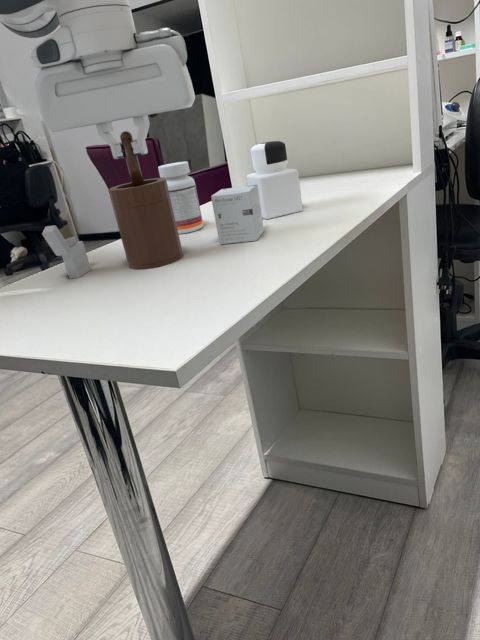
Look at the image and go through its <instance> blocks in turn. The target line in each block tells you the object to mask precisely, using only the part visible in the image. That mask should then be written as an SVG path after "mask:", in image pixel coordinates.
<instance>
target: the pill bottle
mask: <svg viewBox="0 0 480 640" xmlns="http://www.w3.org/2000/svg"><path fill="white" fill-rule="evenodd" d="M157 169H158V174H159V178H166V181H167V186H168V190H169V194H170V199H171V203H172V208H173V212H174V216H175V221H176V225H177V230H178V234H179V235H181V234H188V233H192V232H195V231H196V232H197V231H198V230H200V229H202V228H203V227H204V221H203V216H202V211H201V207H200V202H199V201H200V200H199V196H198V192H197V191H198V190H197V186H196V182H195V179H194V178H193V177H192V176H189V175H188V174H189V173H191V170H190V166H189V162H188V161H178V162H177V161H176V162H171V163H166V164H162V165H159V166H158V167H157Z"/></svg>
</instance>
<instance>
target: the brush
mask: <svg viewBox="0 0 480 640" xmlns="http://www.w3.org/2000/svg"><path fill="white" fill-rule="evenodd" d="M119 139H120V142H121V143H122V147H123V151H124V154H125V161H126V166H127V170H128V173H129V177H130V181H131V182H132V186H133V187H135V186H141V185H144V181H143V180H144V177H143V174H142V170H141V165H140V162H139V158H138V155H136V156H135V155H134V153H133V148H132V145H131V142H134V141H135V140H134V138H133V134H132V132H130V131H128V130H124V131H122V132H121V133H120V134H119ZM121 143H120V144H121Z"/></svg>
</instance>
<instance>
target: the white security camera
mask: <svg viewBox="0 0 480 640" xmlns="http://www.w3.org/2000/svg"><path fill="white" fill-rule="evenodd" d="M249 151H250V155H251V163H252V168H253V171H255V172H251V173H249V174H247V175H246V181H247V186H250V185H258V192H259V199H260V206H261V213H262V219H265V220H271V219H274V218H279V217H283V216H286V215H291V214H295V213H299V212H302V211H303V210H304V208H303V199H302V193H301V192H302V191H301V184H300V178H299V177H300V176H299V170H298V169H296V168H289V167H287V165H289V163H288V155H287V148H286V143H285V142H284V141H280V140H271V141H266V142H260V143H258V144H254V145H253V146H252V147H251V148H250V150H249Z"/></svg>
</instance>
